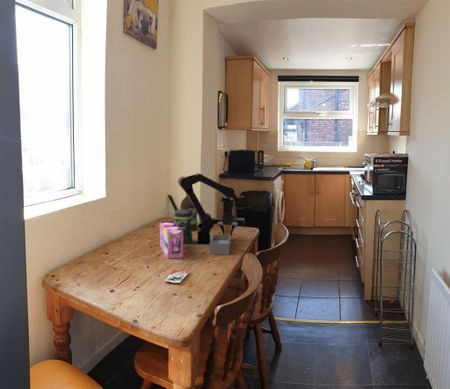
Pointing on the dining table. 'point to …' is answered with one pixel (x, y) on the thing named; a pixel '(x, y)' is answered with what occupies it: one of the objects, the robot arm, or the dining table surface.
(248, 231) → the dining table surface
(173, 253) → the gum box
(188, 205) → the olive oil
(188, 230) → the coffee jar
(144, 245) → the dining table surface
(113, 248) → the dining table surface
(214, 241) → the tray
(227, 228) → the peg
